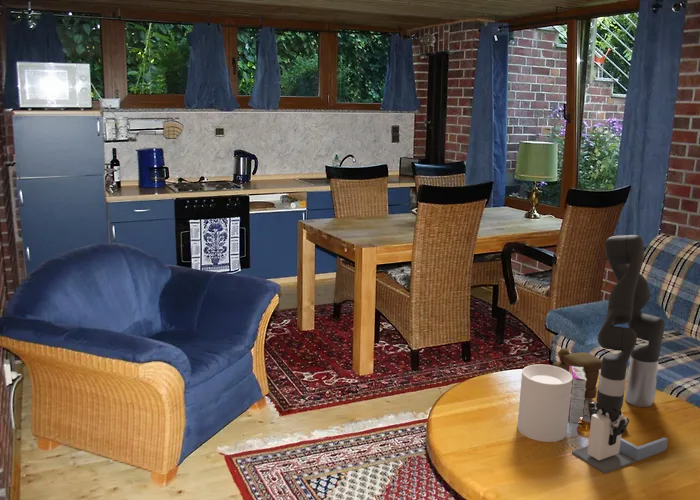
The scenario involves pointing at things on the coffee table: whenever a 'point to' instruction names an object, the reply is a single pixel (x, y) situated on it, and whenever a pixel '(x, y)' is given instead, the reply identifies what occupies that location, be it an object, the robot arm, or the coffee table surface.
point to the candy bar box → (577, 393)
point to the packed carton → (601, 438)
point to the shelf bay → (643, 448)
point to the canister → (544, 402)
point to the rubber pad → (604, 460)
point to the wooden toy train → (585, 361)
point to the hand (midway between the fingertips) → (604, 440)
